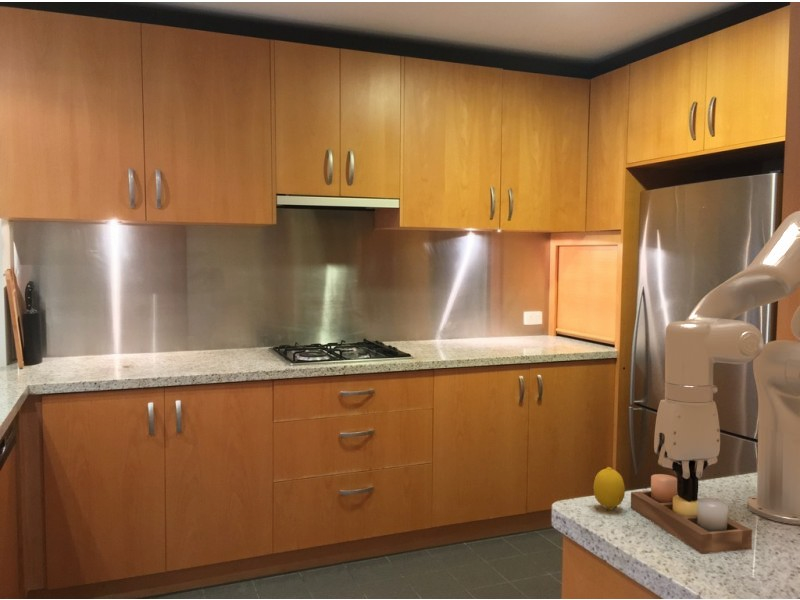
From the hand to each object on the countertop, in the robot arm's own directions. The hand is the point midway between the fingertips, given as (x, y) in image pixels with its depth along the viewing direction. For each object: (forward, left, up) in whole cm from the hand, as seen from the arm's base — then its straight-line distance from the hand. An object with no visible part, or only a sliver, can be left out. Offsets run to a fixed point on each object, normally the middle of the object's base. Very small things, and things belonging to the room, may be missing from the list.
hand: (687, 498), depth 110 cm
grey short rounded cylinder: (0, +6, -3) cm, 7 cm away
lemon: (+9, -10, -5) cm, 15 cm away
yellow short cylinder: (0, 0, -5) cm, 5 cm away
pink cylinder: (0, -6, -3) cm, 7 cm away
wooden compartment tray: (0, 0, -5) cm, 5 cm away
